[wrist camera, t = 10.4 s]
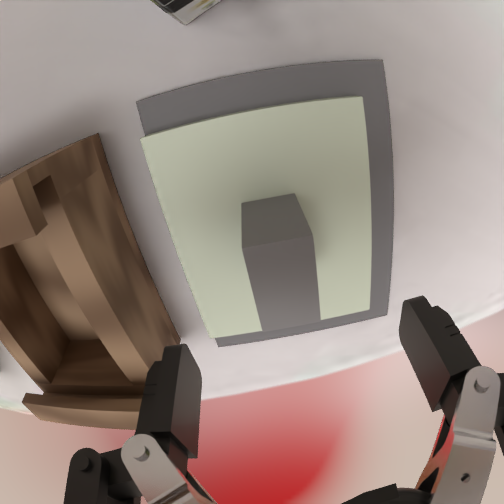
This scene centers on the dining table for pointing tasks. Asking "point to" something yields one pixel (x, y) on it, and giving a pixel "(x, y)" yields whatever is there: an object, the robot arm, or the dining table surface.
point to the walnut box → (77, 291)
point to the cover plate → (256, 172)
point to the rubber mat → (295, 90)
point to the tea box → (185, 8)
